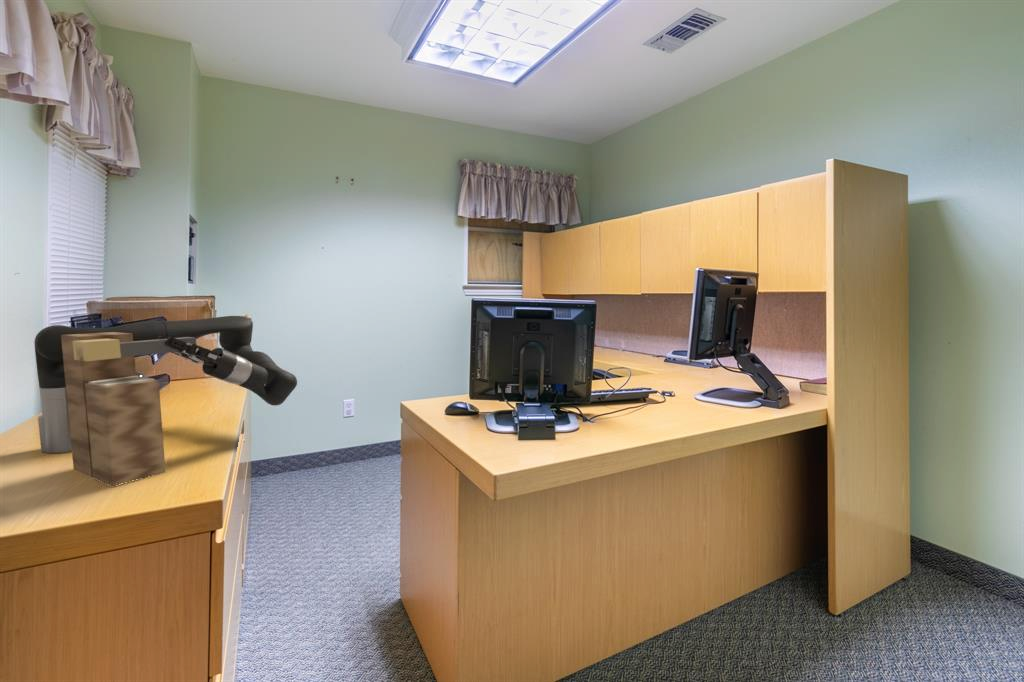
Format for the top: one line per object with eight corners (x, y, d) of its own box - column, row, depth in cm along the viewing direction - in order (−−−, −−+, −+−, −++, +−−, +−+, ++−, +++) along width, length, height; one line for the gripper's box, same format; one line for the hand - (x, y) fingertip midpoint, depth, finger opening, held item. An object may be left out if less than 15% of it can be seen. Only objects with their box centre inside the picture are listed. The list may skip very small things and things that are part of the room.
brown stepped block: (113, 487, 102) (100, 338, 99) (73, 469, 113) (60, 335, 110) (165, 472, 111) (155, 335, 108) (124, 457, 122) (113, 332, 119)
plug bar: (86, 361, 99) (84, 342, 99) (74, 359, 102) (72, 340, 102) (199, 349, 118) (198, 333, 118) (186, 348, 121) (185, 332, 121)
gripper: (219, 352, 132) (155, 325, 119) (249, 355, 125) (185, 326, 111) (207, 377, 130) (140, 352, 116) (237, 382, 123) (169, 356, 109)
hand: (162, 340), depth 114 cm, fingers closed on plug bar, 4 cm apart
